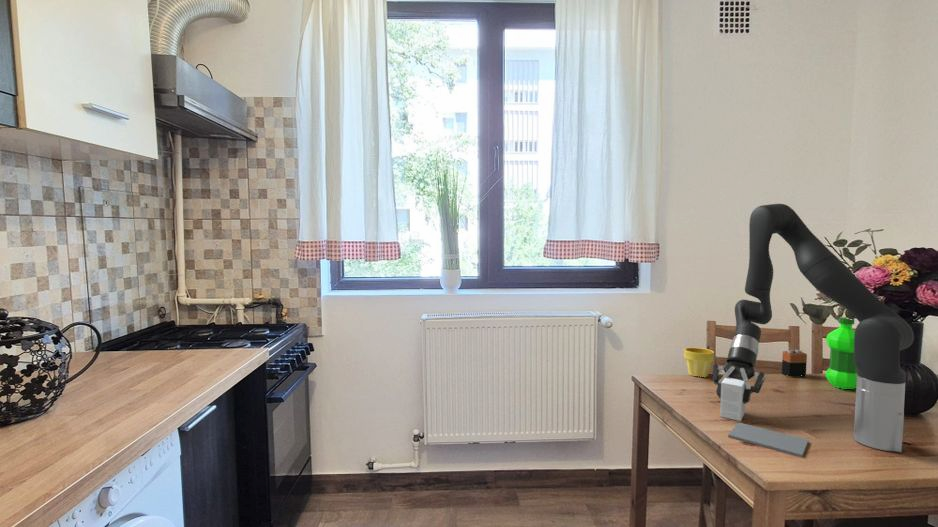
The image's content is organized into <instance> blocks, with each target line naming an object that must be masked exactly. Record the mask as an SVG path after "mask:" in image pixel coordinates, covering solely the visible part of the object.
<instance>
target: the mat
mask: <svg viewBox="0 0 938 527" xmlns="http://www.w3.org/2000/svg"><path fill="white" fill-rule="evenodd" d="M727 437H728V438H731V439H735V440H738V441H742V442H746V443H749V444H754V445H757V446H760V447H763V448H767V449H770V450H775V451H778V452H781V453H782V452H783V453H786V454H789V455H791V456H792V455H793V456H796V457H800V458H803V456H804V455H805V454H804V453H805V451H806V449H807V446H808V444H809V439H806V438H802V437H797V436H794V435H791V434H786V433H782V432H779V431H775V430H774V431H773V430H771V429H766V428H763V427H759V426H754V425H750V424H746V423H742V422H737V424H736V425H735V426H734V428H732V430H731V431H730V432H729V433H728V436H727Z"/></svg>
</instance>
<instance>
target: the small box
mask: <svg viewBox="0 0 938 527" xmlns="http://www.w3.org/2000/svg"><path fill="white" fill-rule="evenodd" d="M745 389H746V386H745V382H744V380H739V379H734V378H729V377H728V378H724V380H723V381H722V382H721V398H720V403H719V404H720V406H719V407H720V408H719V409H720V410H719V416H720V417H721V418H725V419H731V420H733V421H739V422H742V419H743V418H744V416H745V413H746V404H744V403H743V395H744V391H745Z"/></svg>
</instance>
